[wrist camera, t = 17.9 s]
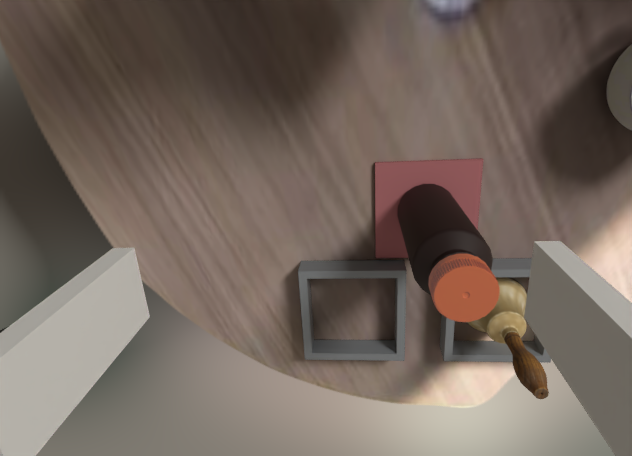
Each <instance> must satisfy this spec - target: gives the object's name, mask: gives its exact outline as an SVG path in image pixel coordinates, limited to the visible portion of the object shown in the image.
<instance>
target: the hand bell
mask: <svg viewBox="0 0 632 456" xmlns="http://www.w3.org/2000/svg"><path fill="white" fill-rule="evenodd" d="M496 279H497V281H498V284H499V287H500V288H499V289H500V291H499V292H500V293H499V295H500V296H498V297H499V298H498V300H499V301H497V303H496V305H495V308H493V310H491V312H489V313H488V314H487V315H486V316H485V317H482V318H480V319H478V320H474V321H472V322H471V321H470V322H467V323H468V324H469V325H470V326H471V327H473V328H475V329H477V330H479V331H482V332H485V333H487V334H488V335H489V337H490V338H491V339H493V340H494V341H496V342H498V343H502V344H507V346H508V348H509V349H510V351H511V353H512V356H513V366H514V370H515V372H516V375H517V377H518V378H519V380H520V382H521V383H522V384H523V385H524V386H525V387H526V388H527V389H528V390H529V391H530V392H532V393H533V395H534V396H536V398H538V399H544V398H546V397H547V396H548V393H549V392H548V389H547V378H546V374H545V371H544V369H543V367H542V365H541V364H540V362H539V361H538V360H537V358H536V357H535V356H534V355H533V354H531V353H530V352H529V351H528V350H527V349H526V348H525V346H524V344H523V342H522V340H521V338H522V336H523V335H524V334H525V332H526V327H527V325H526V321H525V319H524V314H525V307H526V299H527V293H526V290H525V289H524V288H523V286H522V285H521V284H519V283H518V282H517V281H515V280H513V279H511V278H507V277H496Z"/></svg>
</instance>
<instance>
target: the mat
mask: <svg viewBox="0 0 632 456" xmlns="http://www.w3.org/2000/svg"><path fill="white" fill-rule="evenodd" d="M482 169H483V159H454V160H425V161H397V162H375V242H376V258H409V257H408V253H407V249H406V246H405V242H404V238H403V235H402V231H401V227H400V223H399V220H398V216H397V213H398V205H399V203H400V200H401V198H402V197H403V196H404V195H405V193H406V192H407V191H409V190H410V189H412V188H413V187H415V186H418V185H421V184H436V185H439V186H442V187H443V188H445V189H446V190H448V191H449V192H450V193H451V195H452V196H453V197H454V199H455V200H456V202H457V203H458V204H459V206H460V207H461V208H462V210H463V211H464V213H465V214H466V215H467V217H468V218H469V219H470V221H471V222H472V224H473V225H474V226H475V228H476V229H477V228H478V216H479V204H480V192H481V180H482Z"/></svg>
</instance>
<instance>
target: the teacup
mask: <svg viewBox="0 0 632 456" xmlns="http://www.w3.org/2000/svg"><path fill="white" fill-rule="evenodd" d="M606 91H607V102H608V106H609V108H610V110H611V112H612V114H613V116H614V117H615V118H616V119H617V120H618V122H620V123H621V124H622V125H623V126H624V127H626V128H628V129H629V130H631V131H632V44H631V45H630V46H629V47H628V48H627V49H626V50H625V51H624V52H623V53H622V54H621V56H620V57H619V58H618V60H617V61H616V63H615V64H614V66H613V68H612V70H611V73H610V75H609V79H608V82H607V90H606Z"/></svg>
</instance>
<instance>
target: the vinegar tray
mask: <svg viewBox="0 0 632 456" xmlns="http://www.w3.org/2000/svg"><path fill="white" fill-rule="evenodd" d="M298 277H299V290H300V302H301V315H302V328H303V341H304V354H305V359H307V360H390V361H404V356H405V309H406V267H405V263H404V260H345V261H301V263H300V267H299V270H298ZM346 278H395V340H314V330H313V316H312V301H311V286H310V279H346Z"/></svg>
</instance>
